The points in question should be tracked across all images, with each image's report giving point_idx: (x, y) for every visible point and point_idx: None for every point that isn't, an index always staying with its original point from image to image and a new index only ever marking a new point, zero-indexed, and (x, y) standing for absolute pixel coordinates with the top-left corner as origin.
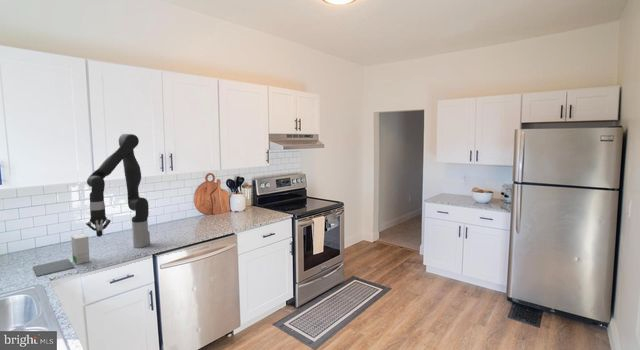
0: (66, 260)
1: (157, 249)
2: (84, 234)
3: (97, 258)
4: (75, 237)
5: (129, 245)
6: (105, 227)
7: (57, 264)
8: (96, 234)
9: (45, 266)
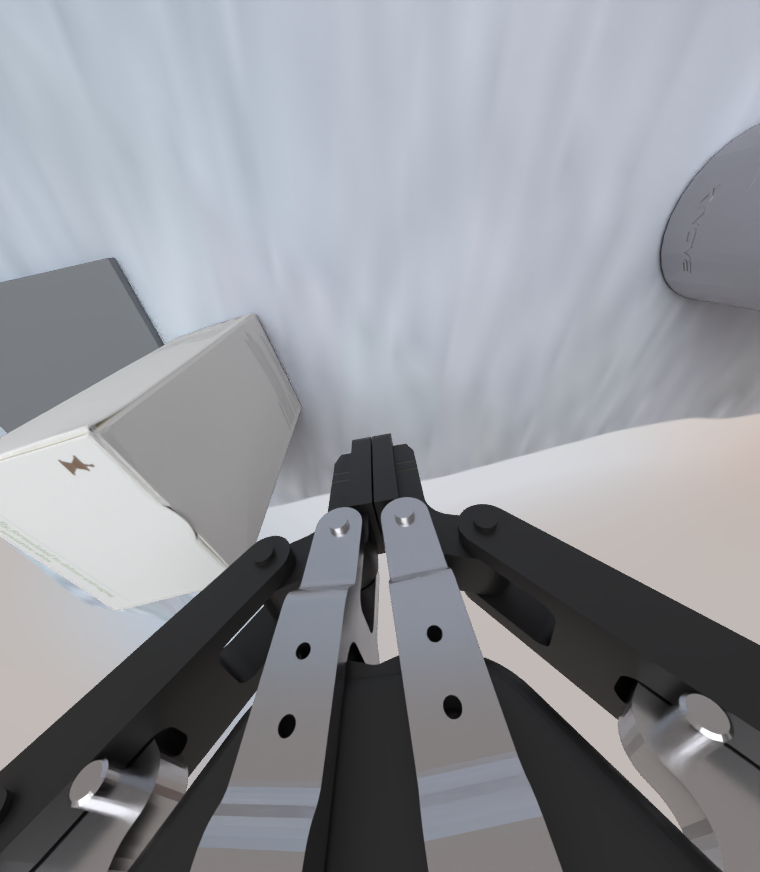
0: (118, 310)
1: (716, 417)
2: (144, 496)
3: (347, 375)
4: (74, 575)
5: (685, 88)
6: (505, 585)
7: (93, 376)
8: (334, 469)
9: (16, 372)
